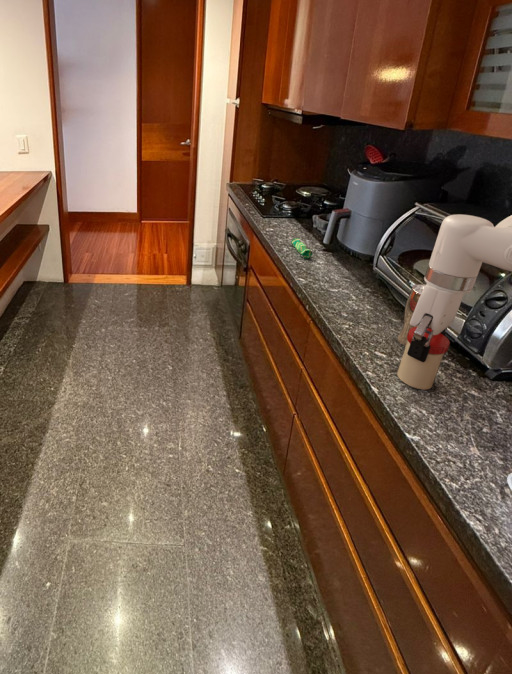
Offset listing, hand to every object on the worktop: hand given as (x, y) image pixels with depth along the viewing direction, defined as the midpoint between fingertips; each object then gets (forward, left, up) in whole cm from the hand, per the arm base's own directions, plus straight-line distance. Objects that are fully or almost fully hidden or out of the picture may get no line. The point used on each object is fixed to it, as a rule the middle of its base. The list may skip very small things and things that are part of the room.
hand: (423, 351), depth 82 cm
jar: (0, 0, -8) cm, 8 cm away
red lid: (0, 0, +3) cm, 3 cm away
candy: (+26, -64, -8) cm, 69 cm away
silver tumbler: (-2, -15, -8) cm, 17 cm away
